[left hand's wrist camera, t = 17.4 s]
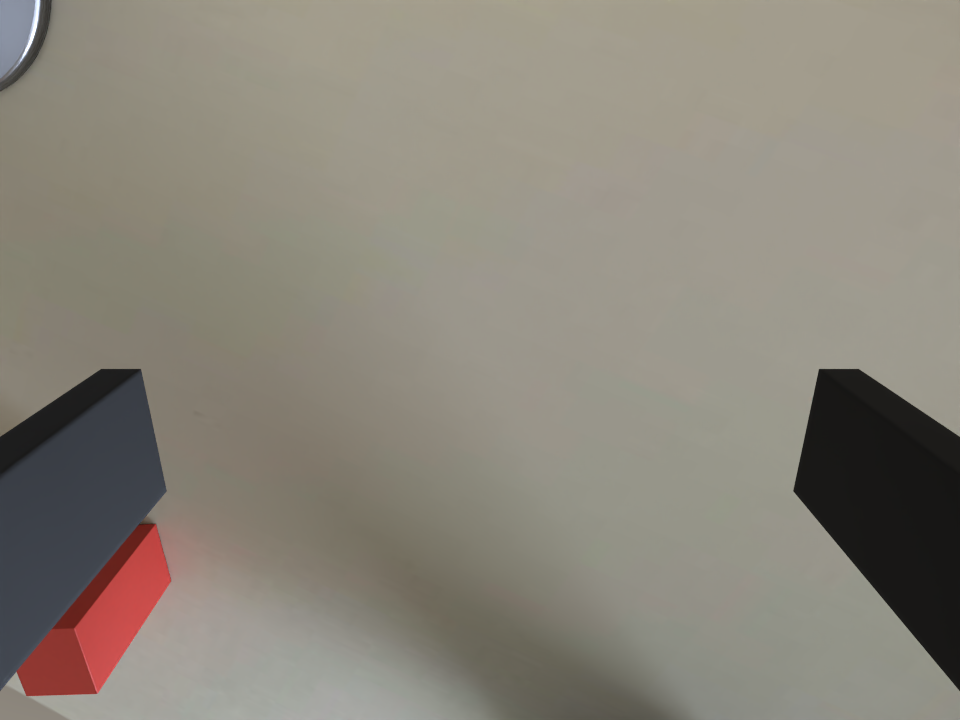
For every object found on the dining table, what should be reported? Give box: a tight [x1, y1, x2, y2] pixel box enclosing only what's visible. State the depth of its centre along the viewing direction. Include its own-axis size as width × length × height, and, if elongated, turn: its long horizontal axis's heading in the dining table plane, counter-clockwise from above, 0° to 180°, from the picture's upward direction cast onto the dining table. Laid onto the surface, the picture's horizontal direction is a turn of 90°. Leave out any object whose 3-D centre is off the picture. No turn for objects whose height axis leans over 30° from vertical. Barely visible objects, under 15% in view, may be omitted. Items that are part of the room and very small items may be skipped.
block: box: [17, 524, 171, 696], centre depth 47 cm, size 6×5×11 cm
